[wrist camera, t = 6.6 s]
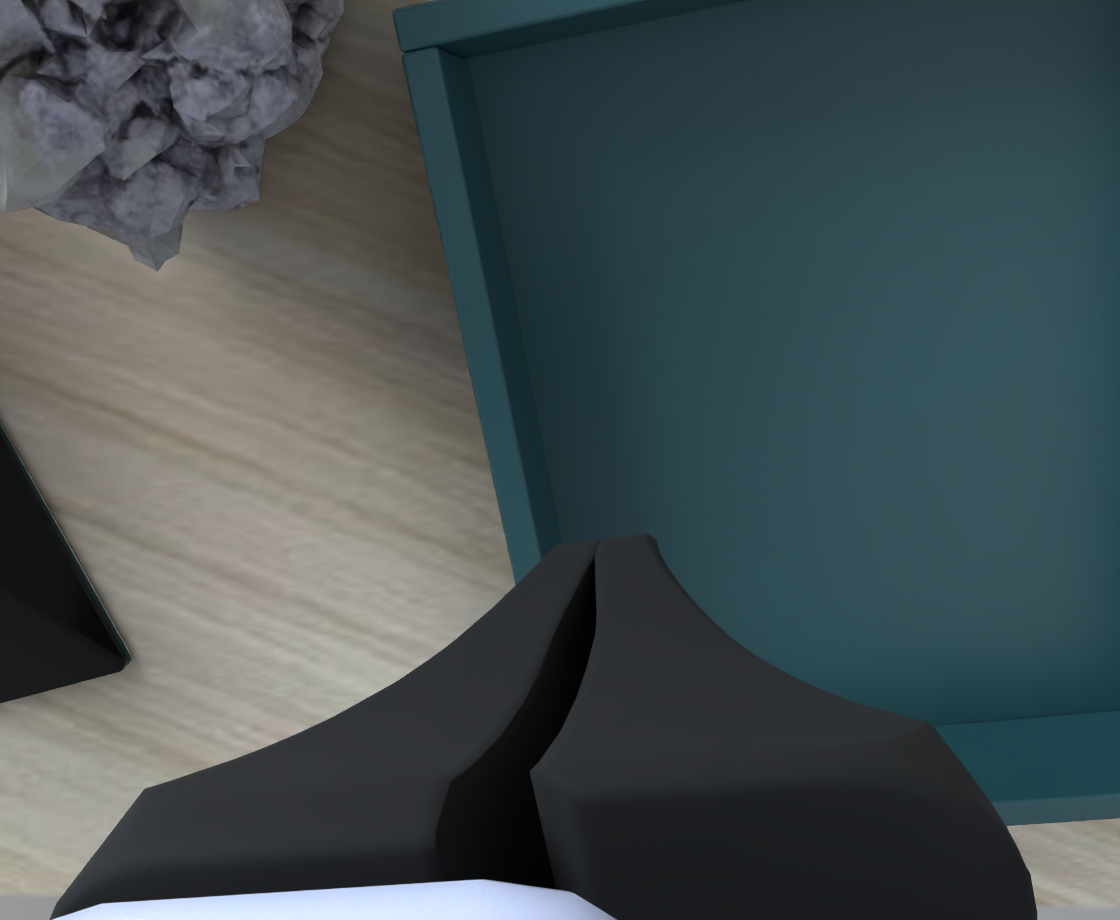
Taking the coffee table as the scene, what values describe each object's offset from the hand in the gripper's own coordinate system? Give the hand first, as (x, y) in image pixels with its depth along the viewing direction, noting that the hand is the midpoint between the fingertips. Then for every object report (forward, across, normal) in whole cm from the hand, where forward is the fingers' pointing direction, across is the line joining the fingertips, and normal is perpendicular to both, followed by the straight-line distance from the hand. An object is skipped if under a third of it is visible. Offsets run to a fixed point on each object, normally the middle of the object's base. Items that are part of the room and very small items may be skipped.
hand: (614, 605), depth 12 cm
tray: (+7, -4, 0) cm, 8 cm away
